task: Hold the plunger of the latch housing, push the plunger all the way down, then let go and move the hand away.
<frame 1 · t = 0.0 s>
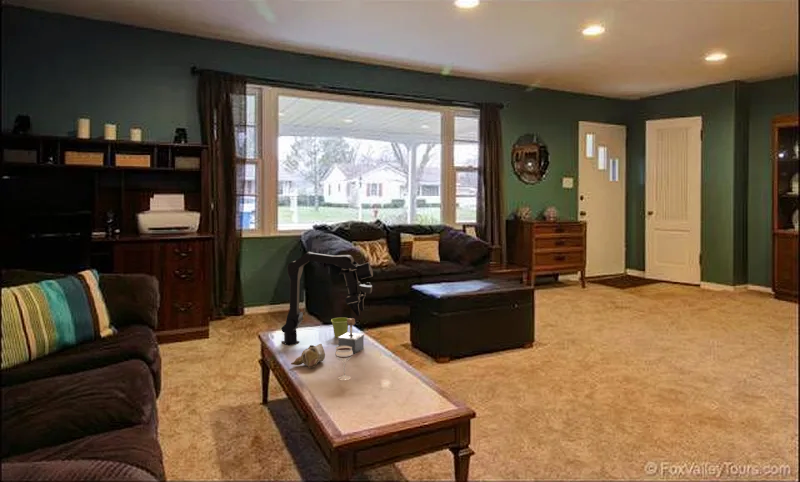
hand: (360, 313, 240), 15 cm above the table, fingers open, 9 cm apart
plant pot: (340, 337, 256), on the table
plunger: (351, 329, 232), point 10 cm above the table, slide at 0.0 cm
ceramic sculpture: (311, 365, 214), on the table
wineglass: (344, 378, 198), on the table
latch housing: (351, 350, 233), on the table
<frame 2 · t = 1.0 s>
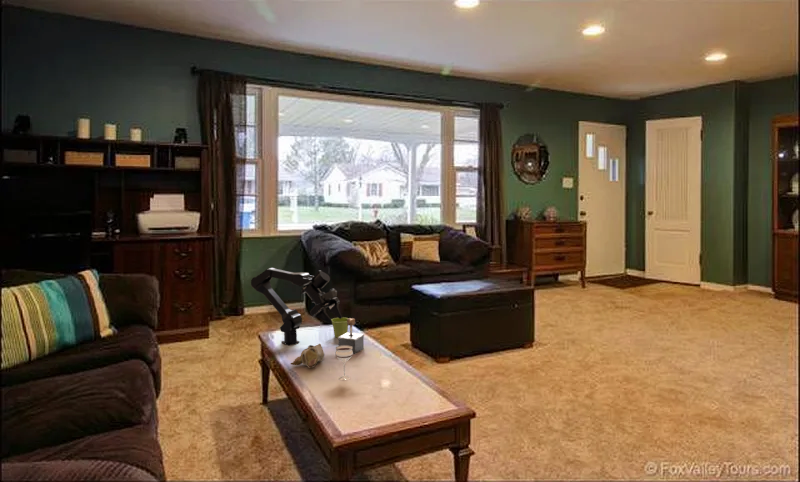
hand: (336, 320, 235), 13 cm above the table, fingers open, 9 cm apart
nothing on the table moved.
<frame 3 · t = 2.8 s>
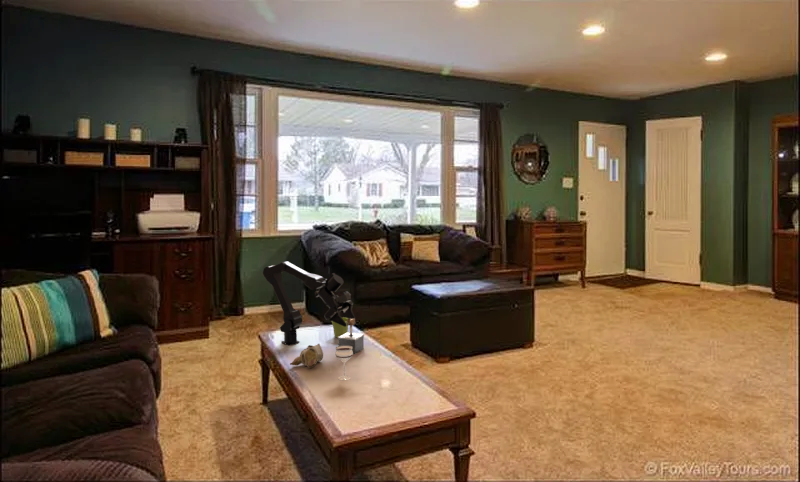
hand: (350, 323, 232), 13 cm above the table, fingers open, 9 cm apart
nothing on the table moved.
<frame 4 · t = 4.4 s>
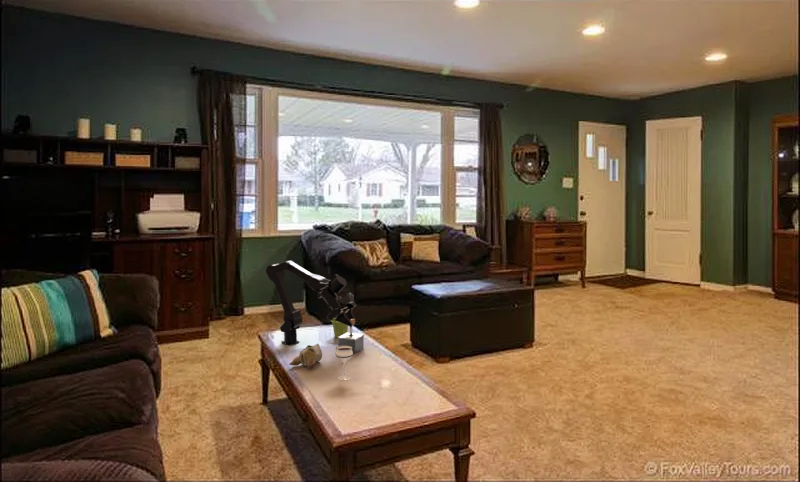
hand: (353, 325, 231), 12 cm above the table, fingers closed on plunger, 4 cm apart
plunger: (351, 329, 232), point 10 cm above the table, slide at 0.0 cm, touching gripper
everything else where it was.
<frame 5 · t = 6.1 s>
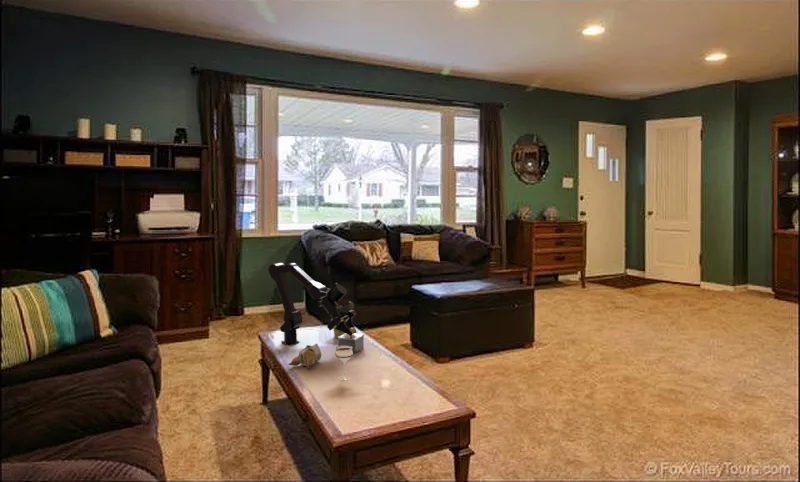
hand: (353, 333, 232), 8 cm above the table, fingers closed on plunger, 4 cm apart
plunger: (351, 337, 232), point 6 cm above the table, slide at 4.1 cm, touching gripper
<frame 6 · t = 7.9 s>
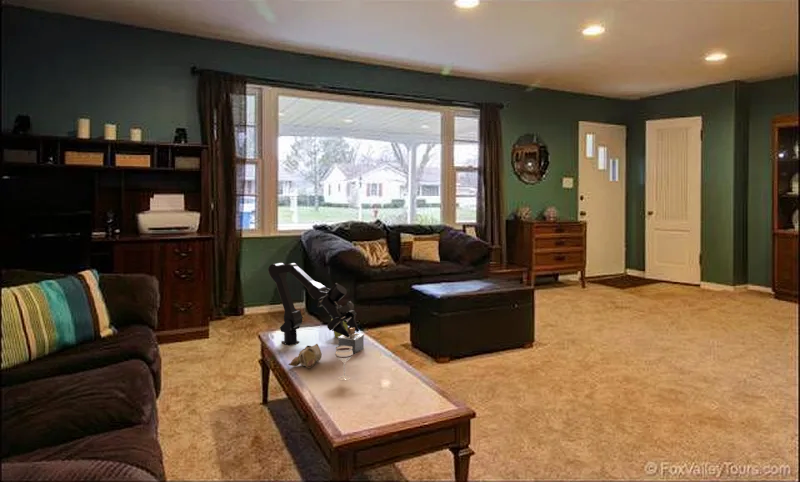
hand: (353, 333, 232), 8 cm above the table, fingers open, 9 cm apart
plunger: (351, 337, 232), point 6 cm above the table, slide at 4.1 cm
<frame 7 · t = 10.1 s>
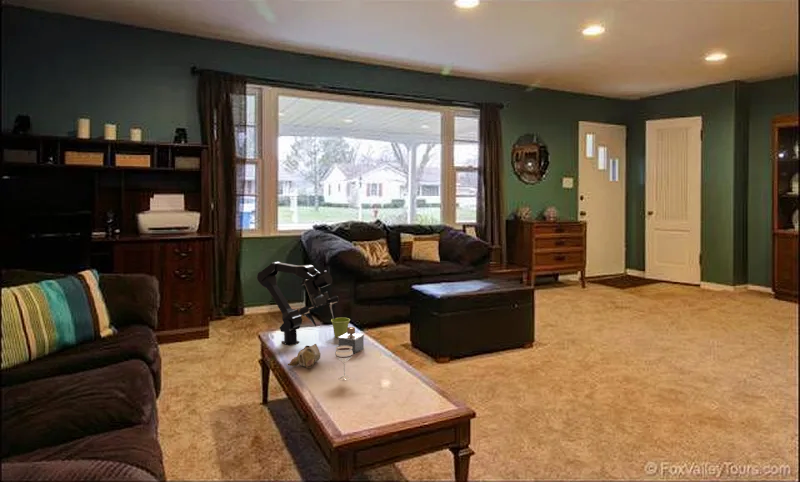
hand: (325, 322, 235), 12 cm above the table, fingers open, 9 cm apart
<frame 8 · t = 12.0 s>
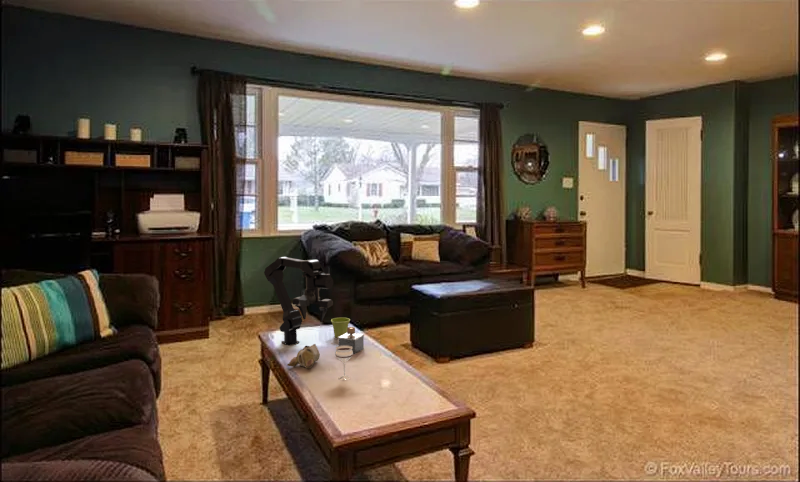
hand: (313, 320, 237), 13 cm above the table, fingers open, 9 cm apart
at the end: plunger slide at 4.1 cm; the gripper is holding nothing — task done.
